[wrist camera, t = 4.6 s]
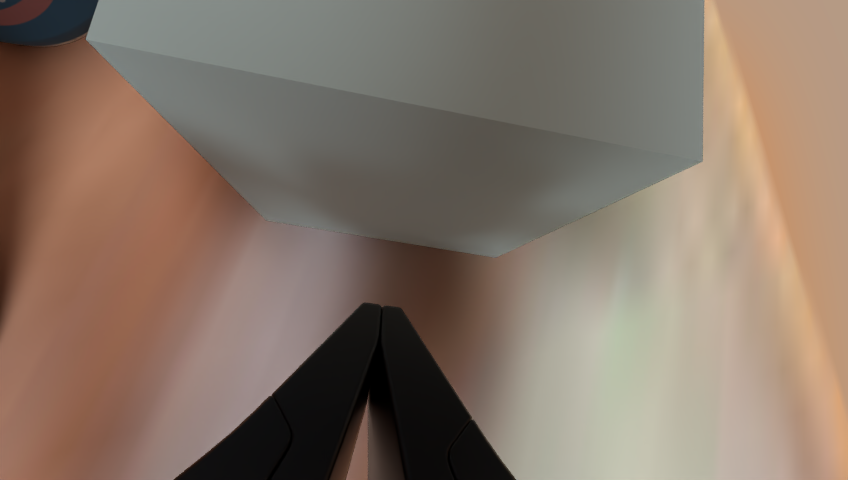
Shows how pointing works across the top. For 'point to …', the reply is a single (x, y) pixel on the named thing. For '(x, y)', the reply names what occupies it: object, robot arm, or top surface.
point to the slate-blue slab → (422, 106)
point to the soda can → (45, 21)
